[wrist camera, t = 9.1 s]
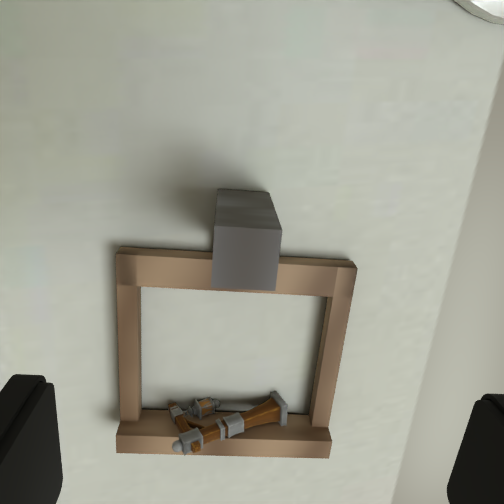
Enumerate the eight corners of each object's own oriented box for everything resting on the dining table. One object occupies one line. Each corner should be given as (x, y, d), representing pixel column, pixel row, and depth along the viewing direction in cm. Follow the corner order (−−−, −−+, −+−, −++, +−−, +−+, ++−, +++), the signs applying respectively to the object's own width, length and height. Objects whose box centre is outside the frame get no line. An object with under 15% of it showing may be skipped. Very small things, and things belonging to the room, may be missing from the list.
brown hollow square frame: (363, 199, 26) (407, 238, 20) (321, 431, 33) (344, 518, 26) (118, 181, 25) (80, 216, 19) (124, 425, 32) (97, 514, 25)
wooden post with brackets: (155, 400, 30) (175, 446, 27) (258, 370, 34) (289, 406, 30) (156, 421, 31) (176, 469, 27) (257, 389, 34) (287, 427, 31)
